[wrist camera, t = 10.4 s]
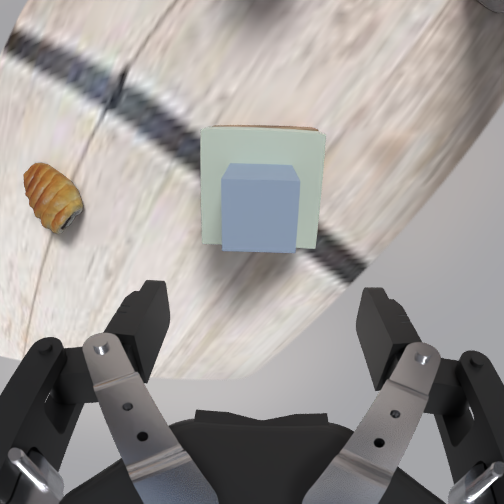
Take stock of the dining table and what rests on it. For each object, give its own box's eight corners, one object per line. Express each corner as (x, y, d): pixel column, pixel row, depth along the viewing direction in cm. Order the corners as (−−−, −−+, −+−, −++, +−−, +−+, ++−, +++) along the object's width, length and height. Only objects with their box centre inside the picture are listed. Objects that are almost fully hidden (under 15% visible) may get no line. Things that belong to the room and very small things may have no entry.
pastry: (23, 185, 34) (6, 193, 31) (46, 147, 33) (29, 153, 29) (65, 233, 37) (50, 245, 34) (92, 199, 35) (77, 209, 32)
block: (292, 165, 26) (300, 181, 20) (288, 222, 28) (295, 253, 22) (229, 163, 26) (221, 179, 20) (230, 221, 28) (222, 250, 22)
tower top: (317, 131, 28) (325, 134, 24) (309, 232, 32) (315, 248, 29) (208, 126, 28) (200, 129, 25) (208, 227, 32) (202, 243, 29)
